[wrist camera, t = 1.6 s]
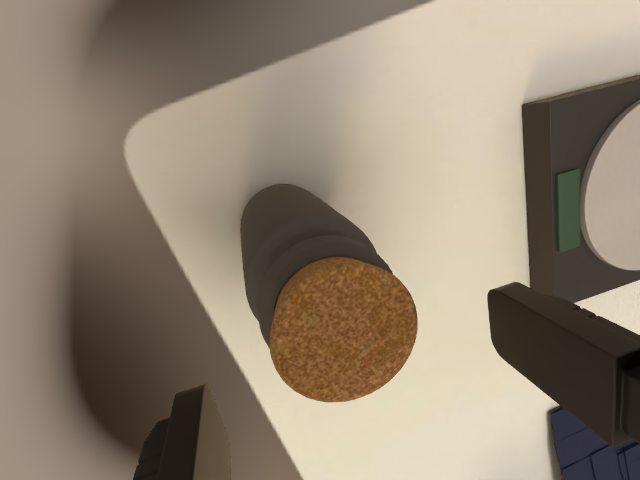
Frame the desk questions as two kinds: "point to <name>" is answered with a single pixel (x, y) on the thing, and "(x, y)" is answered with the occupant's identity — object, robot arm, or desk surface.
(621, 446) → the papers
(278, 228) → the bottle
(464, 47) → the desk surface
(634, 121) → the scale
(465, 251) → the desk surface
